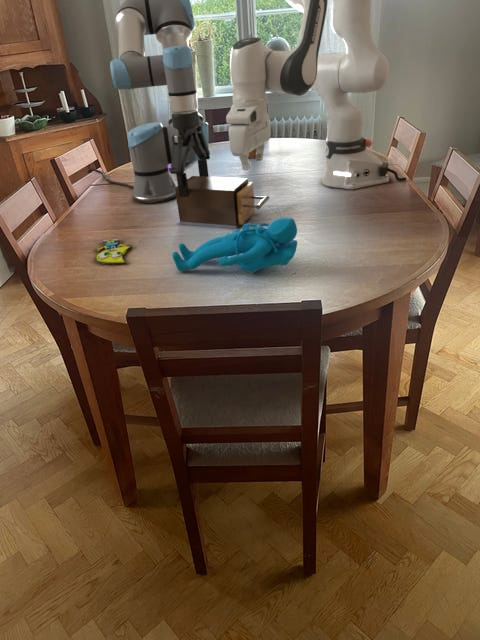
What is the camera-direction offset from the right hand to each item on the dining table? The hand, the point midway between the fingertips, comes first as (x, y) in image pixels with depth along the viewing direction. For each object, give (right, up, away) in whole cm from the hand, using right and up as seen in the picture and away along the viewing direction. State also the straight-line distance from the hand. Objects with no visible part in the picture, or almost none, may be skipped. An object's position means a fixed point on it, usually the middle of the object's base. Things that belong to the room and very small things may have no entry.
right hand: (253, 164), depth 132 cm
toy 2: (-4, -30, -16) cm, 35 cm away
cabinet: (-11, -12, +13) cm, 21 cm away
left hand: (-17, -4, +9) cm, 20 cm away
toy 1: (-38, -25, -3) cm, 45 cm away
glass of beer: (+2, +26, +70) cm, 75 cm away
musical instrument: (-31, +22, +69) cm, 79 cm away
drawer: (-6, -12, +10) cm, 17 cm away
